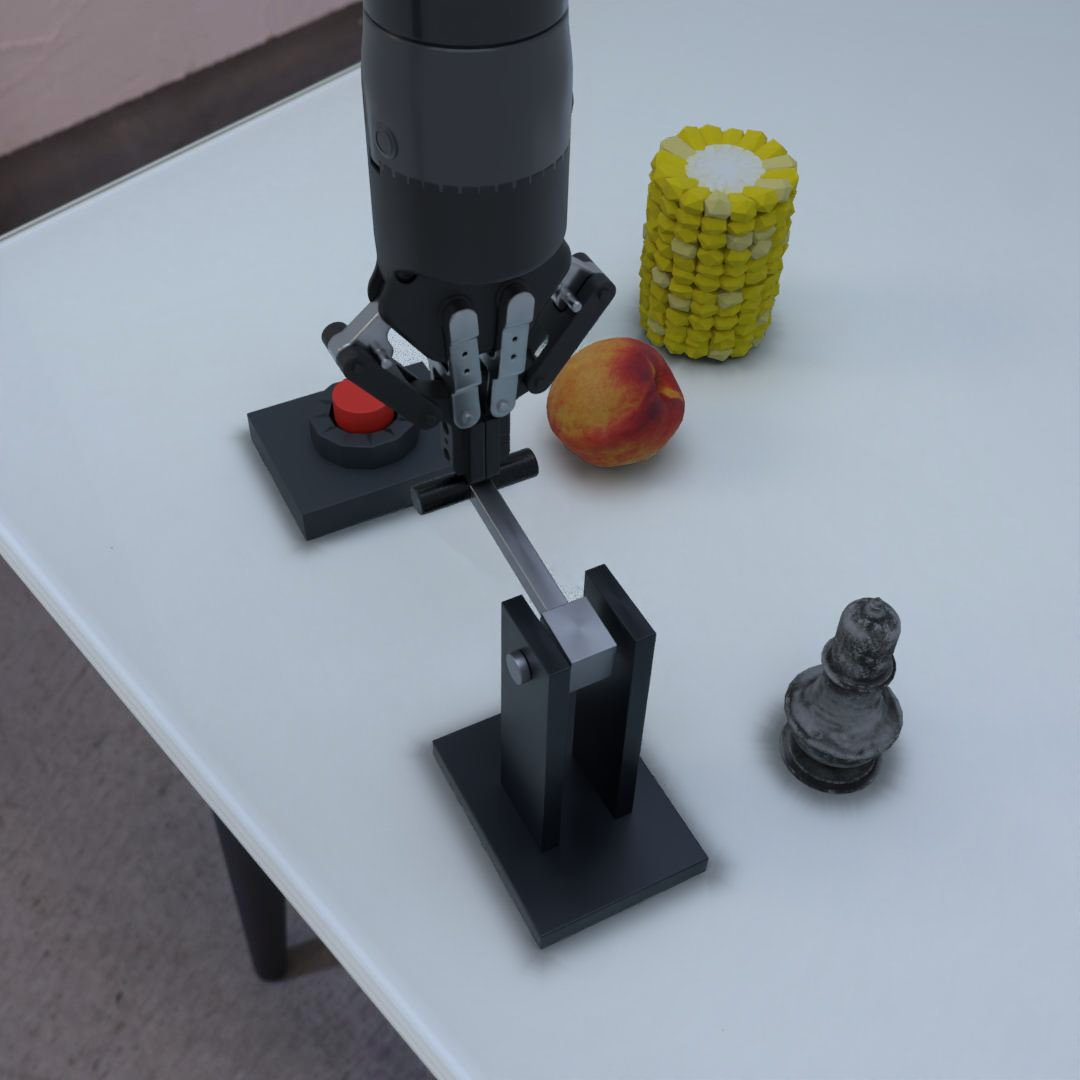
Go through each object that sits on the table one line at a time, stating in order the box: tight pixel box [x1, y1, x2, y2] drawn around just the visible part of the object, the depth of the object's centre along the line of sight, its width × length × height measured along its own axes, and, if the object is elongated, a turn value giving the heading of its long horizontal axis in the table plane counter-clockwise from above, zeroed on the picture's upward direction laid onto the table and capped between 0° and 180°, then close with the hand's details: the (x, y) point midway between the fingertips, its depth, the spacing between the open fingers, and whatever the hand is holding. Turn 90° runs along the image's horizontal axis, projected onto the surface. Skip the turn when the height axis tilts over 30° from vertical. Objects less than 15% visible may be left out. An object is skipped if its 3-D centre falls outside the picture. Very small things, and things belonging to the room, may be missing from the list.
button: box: [332, 377, 394, 434], centre depth 79 cm, size 4×4×2 cm
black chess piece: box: [779, 596, 904, 795], centre depth 64 cm, size 6×6×12 cm
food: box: [638, 123, 800, 362], centre depth 87 cm, size 15×12×10 cm
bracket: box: [431, 563, 710, 950], centre depth 60 cm, size 12×9×15 cm
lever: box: [410, 447, 617, 693], centre depth 58 cm, size 12×6×2 cm, turn 27°
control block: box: [246, 360, 455, 541], centre depth 81 cm, size 12×10×4 cm
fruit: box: [545, 336, 686, 468], centre depth 80 cm, size 8×8×8 cm
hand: (475, 468), depth 60 cm, fingers closed
